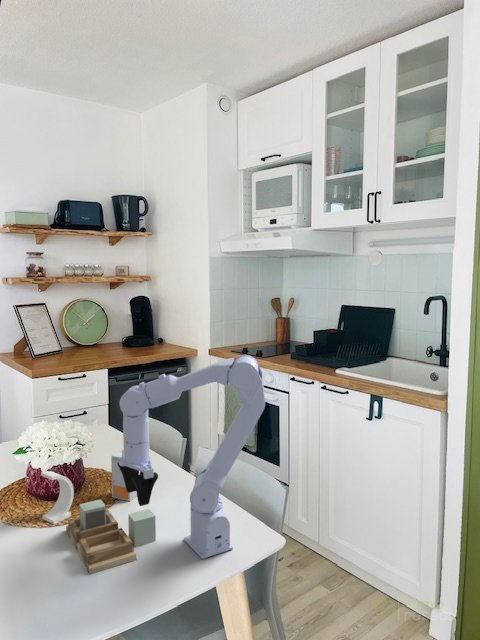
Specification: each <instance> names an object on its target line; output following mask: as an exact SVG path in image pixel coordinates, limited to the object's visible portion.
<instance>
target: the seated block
mask: <svg viewBox="0 0 480 640" xmlns="http://www.w3.org/2000/svg"><path fill="white" fill-rule="evenodd" d="M78 505H79V517H80V529H81V531H82V530H86V529H89V528H93V527H97V526H101V525H105V524H106V510H107V508H106V504H105V503H104V501H103V500H102V499H95V500H91V501H88V502H84V503H80V504H78Z"/></svg>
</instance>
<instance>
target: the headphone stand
mask: <svg viewBox="0 0 480 640" xmlns="http://www.w3.org/2000/svg"><path fill="white" fill-rule="evenodd" d="M40 476H42V477H43V478H45V479H48V480H50V481H55V480H57V482H58V483H59V484H58V485H59V495H58V498H57V500H56V502H55V504H54V505H53V507H52V508H51V509H50V510H49V511H48V512H47V513H45V514H43V515H42V520H45V521H47V522H49V523H50V524H53V525H55V524H57V523H59V522H62V521H63V520H66V519H68V518H70V517H72V512H70V511H69V510H70V508H71V506H72V504H73V502H74V501H73V500H74V495H75V493H74V492H75V489H74V485H73V483H72V481H71V480H70V479H69V478H68V477H66V476H64V475H61V474H60V473H56V472H54V471H50V470H47V471H46V470H45V471H44V470H43V471H41V472H40Z"/></svg>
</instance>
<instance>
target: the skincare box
mask: <svg viewBox="0 0 480 640" xmlns="http://www.w3.org/2000/svg"><path fill="white" fill-rule="evenodd" d="M121 460H123V458H122V450H118V451H117V452H116V453H114V454H112V455H111V461H110V462H111V464H110V465H111V497H112V498H113V499H119V500H123V501H127V502H132V500H134V499H135V498H137V492H136V491H134V492H130V493H128V492H127V490H126V486H125V482H124V478H123V475H122V472H121V470H120V468H119V467H118V465H117V463H118V462H119V461H121Z"/></svg>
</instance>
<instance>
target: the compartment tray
mask: <svg viewBox="0 0 480 640" xmlns="http://www.w3.org/2000/svg"><path fill="white" fill-rule="evenodd" d="M65 528H66V533H67V535H68V537H69V538H70V540H71V542H72V544H73V546H74V548H75V549H76V551H77V553H78V555H79V556H80V559H81V560H82V562H83V564H84V566H85V568H86V570H87V571H88V573H89V575H91V574H95V573H98V572H101V571H105V570H108V569H110V568H114V567H116V566H120V565H121V566H122V565H123V564H126V563H130V562H133V561H136V560H137V553H136V552H135V550H134V545H133V542H132V541H131V540H130V538H129V535H127V533H126V531H125V530H124V529H123V528H122V527H120V528H119V522H118V521H117V520H116V519H115V517H114V516H113V515H112V513H111V512H110V511H109V509H106V524H105V525H101V526H97V527H93V528H89V529H86V530H82V531H81V529H80V516H77V517H73V518H70V519H68V525H66V526H65Z"/></svg>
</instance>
